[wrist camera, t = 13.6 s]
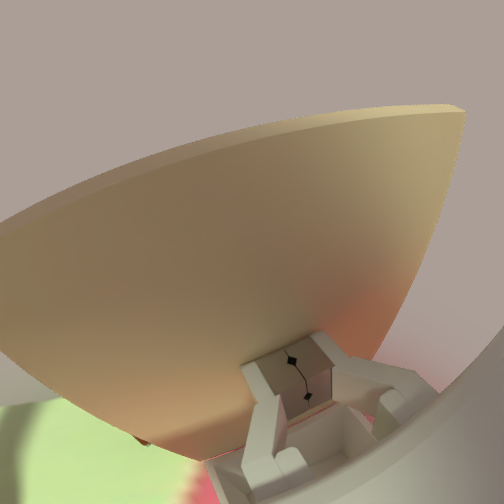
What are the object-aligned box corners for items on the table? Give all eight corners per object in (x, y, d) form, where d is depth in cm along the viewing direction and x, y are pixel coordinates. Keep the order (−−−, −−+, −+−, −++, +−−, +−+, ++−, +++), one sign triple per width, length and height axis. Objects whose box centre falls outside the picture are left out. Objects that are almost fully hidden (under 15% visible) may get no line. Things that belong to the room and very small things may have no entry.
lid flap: (-66, 280, 3) (-58, 260, 3) (200, 461, 18) (197, 455, 19) (466, 111, 6) (451, 104, 6) (350, 393, 22) (346, 388, 22)
